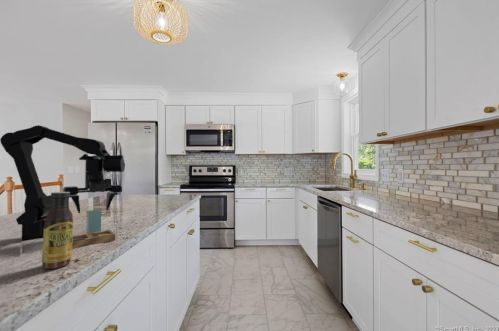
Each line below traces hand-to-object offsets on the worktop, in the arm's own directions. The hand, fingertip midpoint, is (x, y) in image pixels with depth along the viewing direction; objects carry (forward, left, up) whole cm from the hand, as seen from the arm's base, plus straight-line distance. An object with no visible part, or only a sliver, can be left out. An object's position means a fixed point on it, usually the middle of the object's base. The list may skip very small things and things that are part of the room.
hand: (93, 211), depth 90 cm
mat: (0, 0, -9) cm, 9 cm away
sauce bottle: (-13, -26, -9) cm, 31 cm away
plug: (0, 0, -9) cm, 9 cm away
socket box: (-3, -10, -9) cm, 14 cm away
